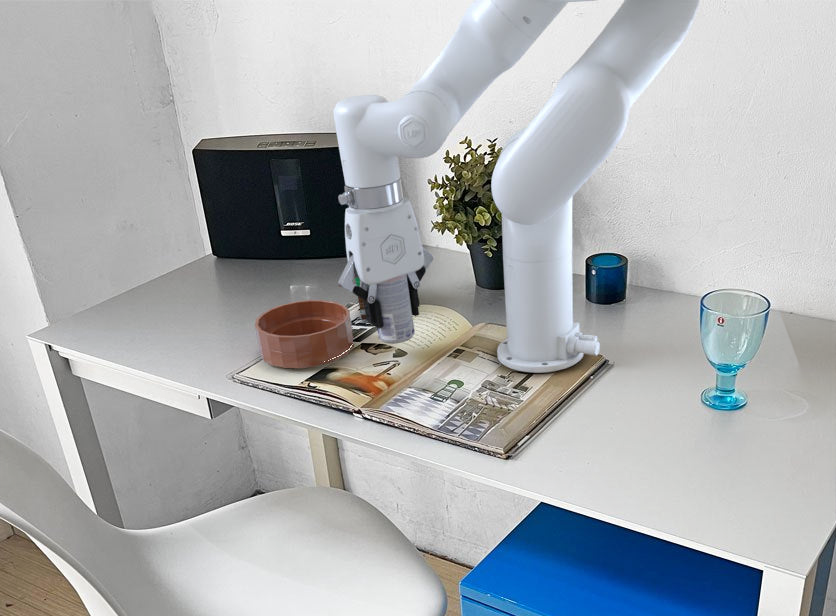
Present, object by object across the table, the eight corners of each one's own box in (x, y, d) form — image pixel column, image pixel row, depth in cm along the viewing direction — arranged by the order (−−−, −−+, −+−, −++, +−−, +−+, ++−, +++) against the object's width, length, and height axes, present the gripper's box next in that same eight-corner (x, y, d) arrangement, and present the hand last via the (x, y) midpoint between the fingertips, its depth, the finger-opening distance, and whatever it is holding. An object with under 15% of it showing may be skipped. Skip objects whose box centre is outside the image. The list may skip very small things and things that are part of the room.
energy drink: (401, 326, 148) (389, 248, 141) (422, 335, 144) (411, 255, 138) (371, 338, 145) (358, 259, 138) (392, 347, 141) (379, 267, 135)
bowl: (365, 333, 154) (361, 300, 151) (338, 373, 142) (332, 338, 139) (281, 332, 156) (275, 299, 153) (247, 370, 145) (240, 335, 142)
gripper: (331, 215, 127) (354, 344, 137) (442, 184, 134) (457, 309, 144) (306, 204, 132) (330, 329, 142) (414, 175, 140) (430, 296, 149)
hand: (394, 318), depth 143 cm, fingers closed on energy drink, 5 cm apart
